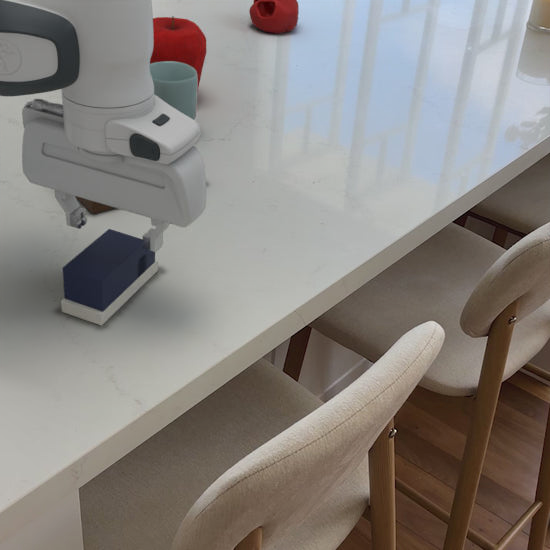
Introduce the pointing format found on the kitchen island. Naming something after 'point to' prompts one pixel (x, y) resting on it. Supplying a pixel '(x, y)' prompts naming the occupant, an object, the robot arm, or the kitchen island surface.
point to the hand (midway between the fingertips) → (114, 236)
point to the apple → (179, 42)
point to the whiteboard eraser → (106, 276)
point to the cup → (176, 85)
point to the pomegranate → (274, 15)
